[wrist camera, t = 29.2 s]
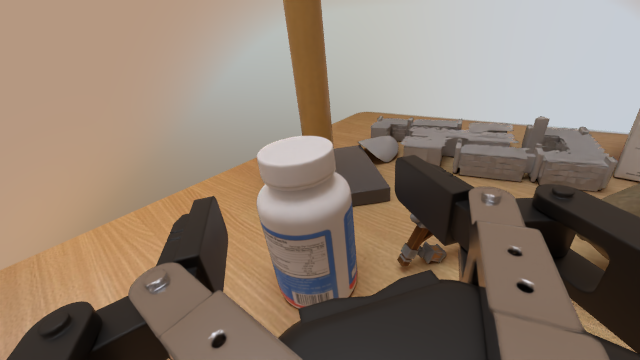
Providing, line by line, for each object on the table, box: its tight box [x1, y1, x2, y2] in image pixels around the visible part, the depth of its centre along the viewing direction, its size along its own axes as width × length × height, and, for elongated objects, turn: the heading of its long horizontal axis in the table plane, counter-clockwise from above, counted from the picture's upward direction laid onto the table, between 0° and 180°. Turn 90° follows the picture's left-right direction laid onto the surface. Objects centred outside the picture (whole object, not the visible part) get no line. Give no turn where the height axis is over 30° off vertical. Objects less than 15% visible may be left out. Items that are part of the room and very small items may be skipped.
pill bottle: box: [257, 136, 357, 308], centre depth 16 cm, size 6×5×10 cm
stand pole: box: [283, 0, 334, 149], centre depth 24 cm, size 3×3×27 cm
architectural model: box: [358, 116, 618, 192], centre depth 32 cm, size 12×25×5 cm, turn 61°
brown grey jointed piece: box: [397, 214, 446, 266], centre depth 18 cm, size 2×8×4 cm, turn 105°
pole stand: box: [334, 145, 390, 206], centre depth 30 cm, size 12×12×2 cm
